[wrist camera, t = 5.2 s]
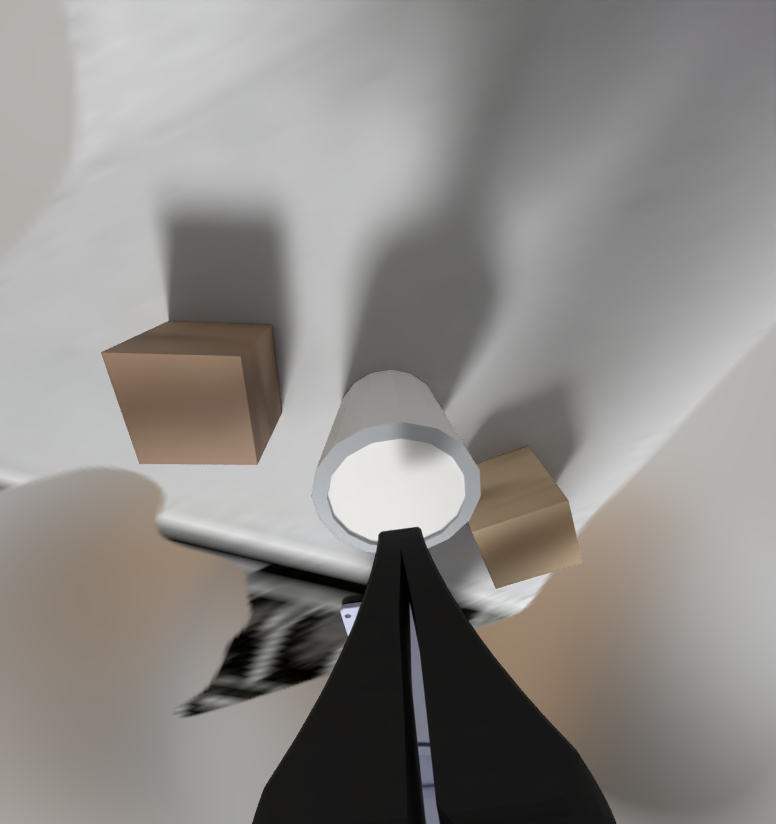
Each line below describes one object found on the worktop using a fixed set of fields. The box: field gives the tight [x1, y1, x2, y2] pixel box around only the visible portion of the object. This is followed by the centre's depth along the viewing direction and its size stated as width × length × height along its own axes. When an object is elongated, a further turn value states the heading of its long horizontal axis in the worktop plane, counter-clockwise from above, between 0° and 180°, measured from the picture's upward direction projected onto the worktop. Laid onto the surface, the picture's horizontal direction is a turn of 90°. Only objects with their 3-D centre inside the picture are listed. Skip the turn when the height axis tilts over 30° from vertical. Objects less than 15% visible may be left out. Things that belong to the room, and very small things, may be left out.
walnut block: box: [101, 321, 282, 465], centre depth 16 cm, size 5×5×5 cm
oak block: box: [468, 446, 582, 589], centre depth 21 cm, size 5×5×5 cm
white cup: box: [311, 370, 481, 553], centre depth 17 cm, size 7×7×7 cm
